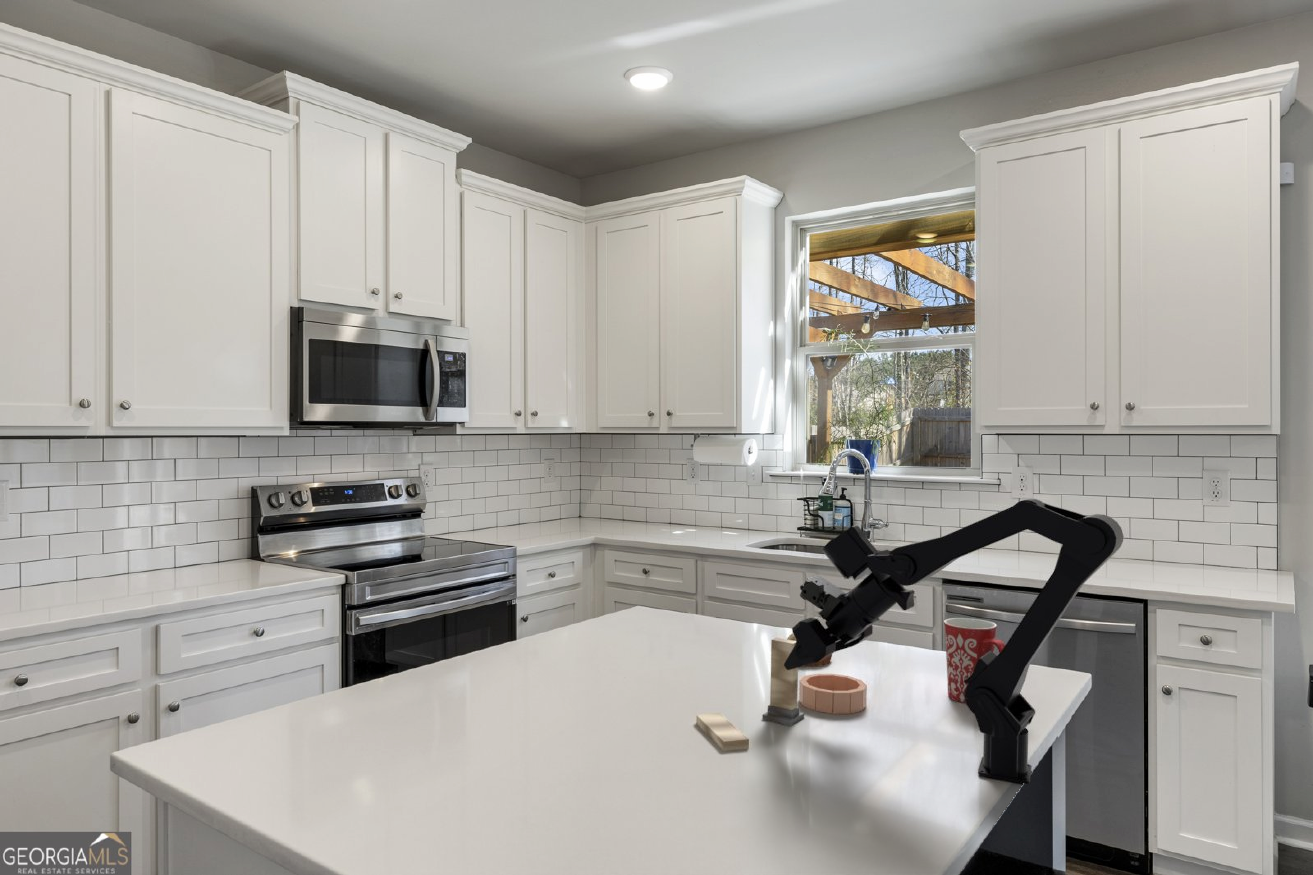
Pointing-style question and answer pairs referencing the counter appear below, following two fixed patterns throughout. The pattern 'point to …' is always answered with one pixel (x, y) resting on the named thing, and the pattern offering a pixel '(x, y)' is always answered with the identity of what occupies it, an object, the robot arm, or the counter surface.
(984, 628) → the mug
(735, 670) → the counter surface
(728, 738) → the light wooden flat block
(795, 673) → the wooden pillar
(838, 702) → the bowl
